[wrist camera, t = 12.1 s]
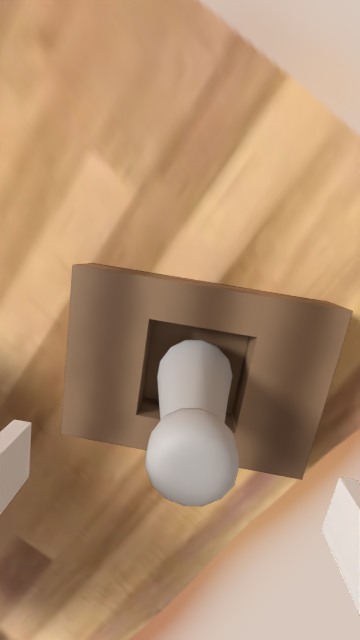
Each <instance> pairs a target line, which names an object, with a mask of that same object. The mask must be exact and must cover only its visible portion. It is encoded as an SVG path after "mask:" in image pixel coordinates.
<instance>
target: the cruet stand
mask: <svg viewBox="0 0 360 640" xmlns="http://www.w3.org/2000/svg"><path fill="white" fill-rule="evenodd" d="M352 312H353V311H351V310H349V309H346V308H344V307H341V306H338V305H336V304H333V303H330V302H326V301H320V300H314V299H308V298H302V297H296V296H290V295H284V294H278V293H272V292H266V291H260V290H253V289H247V288H241V287H235V286H229V285H223V284H217V283H211V282H205V281H199V280H193V279H187V278H180V277H174V276H168V275H162V274H156V273H150V272H144V271H138V270H132V269H126V268H120V267H114V266H107V265H101V264H95V263H88V264H76V265H72V280H71V294H70V309H69V323H68V338H67V352H66V367H65V382H64V396H63V411H62V425H61V434H63V435H68V436H74V437H79V438H84V439H89V440H95V441H100V442H105V443H111V444H116V445H121V446H126V447H132V448H137V449H142V450H147V448H148V442H149V438H150V436H151V433H152V431H153V430H154V428H155V427H156V426H157V425H158V423H159V422H160V421H161V420H160V407H159V393H158V379H157V376H158V370H159V365H160V361H161V360H162V358H163V357H164V356H165V354H166V353H167V352H168V350H169V349H170V348H171V347H172V346H174V345H176V344H178V343H180V342H182V341H184V340H204V341H206V342H208V343H211V344H213V345H215V346H217V347H218V348H219V349H220V351H221V352H222V353H223V354H224V355H225V356H226V357H227V358H228V360H229V362H230V367H231V371H232V375H233V376H232V381H231V386H230V391H229V396H228V402H227V409H226V416H225V422H224V423H225V424H226V425H227V426H228V427H229V429H230V430H231V431H232V433H233V436H234V439H235V443H236V447H237V451H238V455H239V468H243V469H248V470H253V471H259V472H264V473H269V474H274V475H280V476H285V477H290V478H296V479H301V480H302V478H303V475H304V472H305V468H306V465H307V462H308V458H309V455H310V452H311V448H312V445H313V442H314V438H315V435H316V432H317V428H318V425H319V422H320V418H321V415H322V412H323V409H324V405H325V402H326V399H327V395H328V392H329V389H330V385H331V382H332V379H333V375H334V372H335V369H336V365H337V362H338V359H339V355H340V352H341V349H342V345H343V342H344V339H345V336H346V332H347V329H348V326H349V322H350V319H351V316H352Z"/></svg>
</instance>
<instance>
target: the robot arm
mask: <svg viewBox="0 0 360 640" xmlns="http://www.w3.org/2000/svg"><path fill="white" fill-rule="evenodd" d="M30 446H31V422H26V421H20V420H13V421H12V422H11V423H10V424H8V425H7V426H6V427H5V428H4V429H3V430H2V431H1V432H0V515H1V513H2V512H3V511H4V509H5V508H6V507H7V505H8V504H9V503H10V501H11V500H12V499H13V497H14V496H15V495H16V494H17V492H18V491H19V490H20V488H21V487H22V486H23V484H24V483H25V482H26V480H27V479H28V478H29V470H30ZM322 532H323V534H324V536H325V538H326V541H327V543H328V545H329V548H330V550H331V552H332V554H333V556H334V559H335V561H336V563H337V565H338V568H339V570H340V572H341V574H342V577H343V579H344V581H345V583H346V585H347V588H348V590H349V592H350V594H351V597H352V599H353V601H354V603H355V606H356V608H357V610H358V612H359V614H360V483H359V482H358V480H353V479H347V478H341V477H340V478H339V480H338V483H337V486H336V488H335V492H334V495H333V497H332V500H331V503H330V506H329V509H328V512H327V515H326V518H325V522H324V524H323V527H322Z"/></svg>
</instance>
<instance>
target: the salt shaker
mask: <svg viewBox="0 0 360 640" xmlns="http://www.w3.org/2000/svg"><path fill="white" fill-rule="evenodd" d="M232 376H233V375H232V371H231V367H230V362H229V360H228V358H227V357H226V356H225V355H224V354H223V353H222V352H221V351H220V349H219V348H218V347H217V346H215V345H213V344H211V343H208V342H206V341H204V340H184V341H182V342H180V343H178V344H176V345H174V346H172V347H171V348H170V349H169V350H168V352H167V353H166V354H165V356H164V357H163V358H162V360H161V361H160V365H159V370H158V376H157V379H158V393H159V407H160V420H161V421H160V422H159V423H158V425H157V426H156V427H155V428H154V430H153V431H152V433H151V436H150V438H149V442H148V448H147V453H146V466H145V468H146V470H147V473H148V476H149V479H150V482H151V484H152V486H153V487H154V488H155V489H156V490H157V491H158V492H159V493H160V494H161V495H162V496H163V497H164V498H166V499H168V500H170V501H173V502H176V503H178V504H181V505H183V506H205V505H207V504H209V503H212V502H214V501H217V500H219V499H222V497H223V496H224V495H225V494H226V493H227V492H228V491H229V490H230V489H231V488H232V487H233V486H234V484H235V480H236V476H237V473H238V469H239V455H238V451H237V447H236V443H235V439H234V436H233V433H232V431H231V430H230V429H229V427H228V426H227V425H226V424H225V423H224V422H225V416H226V409H227V402H228V396H229V391H230V386H231V381H232Z"/></svg>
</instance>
